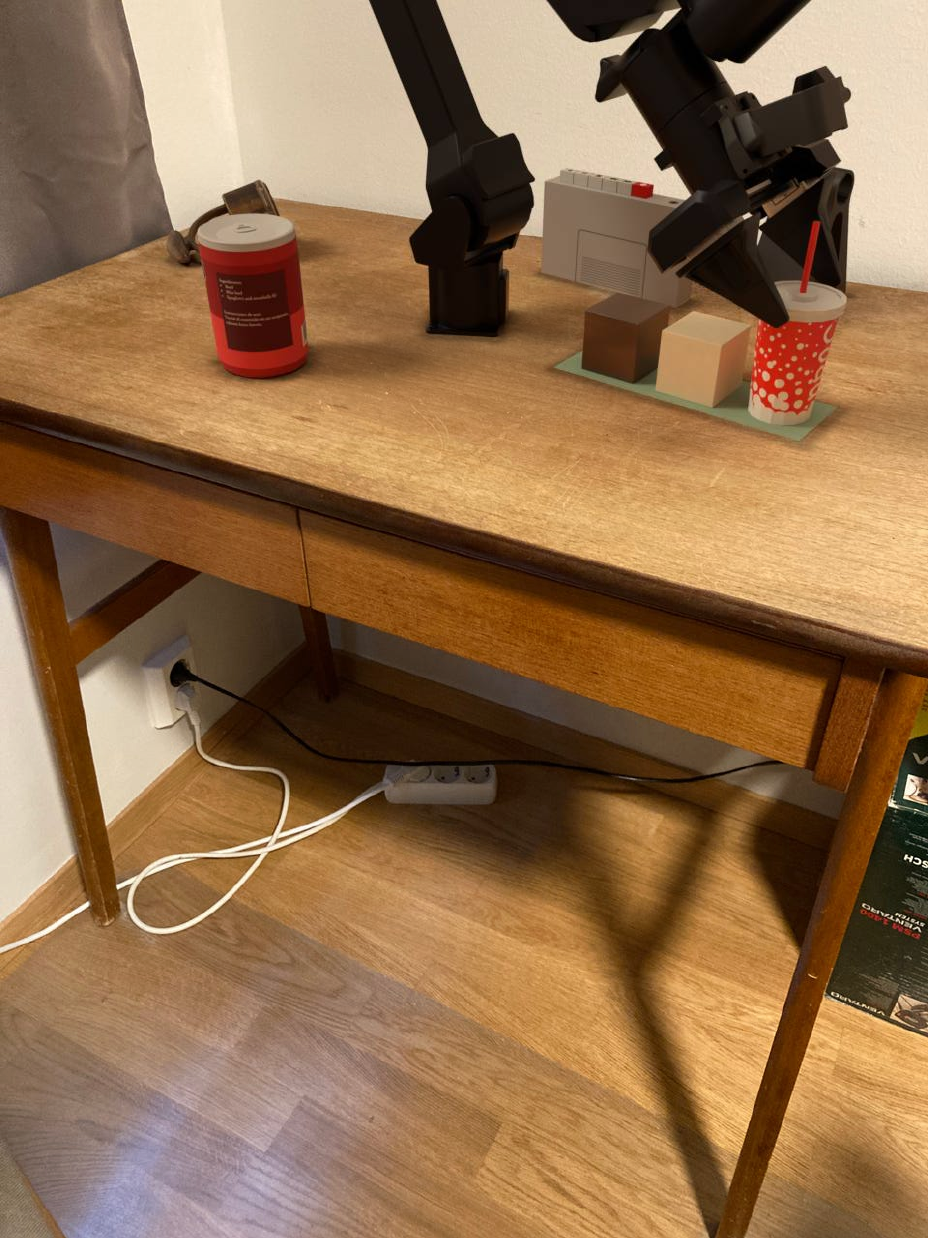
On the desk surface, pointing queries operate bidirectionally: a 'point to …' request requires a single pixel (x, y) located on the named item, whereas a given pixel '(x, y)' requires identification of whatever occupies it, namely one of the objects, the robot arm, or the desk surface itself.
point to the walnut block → (623, 337)
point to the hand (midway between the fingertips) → (811, 304)
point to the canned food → (254, 293)
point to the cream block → (702, 358)
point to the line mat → (727, 409)
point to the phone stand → (838, 219)
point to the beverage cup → (794, 348)
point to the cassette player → (608, 235)
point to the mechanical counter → (235, 202)
